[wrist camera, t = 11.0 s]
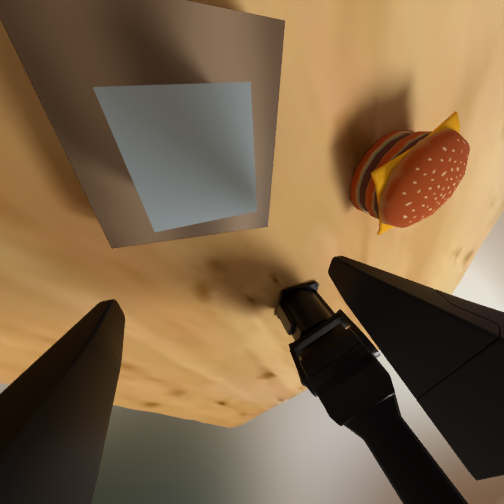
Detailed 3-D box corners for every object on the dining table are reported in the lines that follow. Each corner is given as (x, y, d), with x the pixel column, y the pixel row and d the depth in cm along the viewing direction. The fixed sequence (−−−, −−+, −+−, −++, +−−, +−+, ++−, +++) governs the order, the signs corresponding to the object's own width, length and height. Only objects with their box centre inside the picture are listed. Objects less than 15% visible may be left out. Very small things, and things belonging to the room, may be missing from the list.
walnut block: (258, 44, 13) (285, 20, 10) (252, 209, 20) (267, 226, 17) (36, 9, 9) (-31, -46, 6) (123, 224, 16) (111, 248, 13)
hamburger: (356, 225, 26) (400, 251, 21) (340, 165, 20) (397, 180, 15) (415, 181, 25) (478, 197, 20) (418, 104, 19) (509, 98, 14)
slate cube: (222, 96, 11) (250, 81, 7) (232, 185, 14) (257, 211, 10) (125, 101, 9) (92, 86, 6) (160, 197, 12) (154, 232, 9)
